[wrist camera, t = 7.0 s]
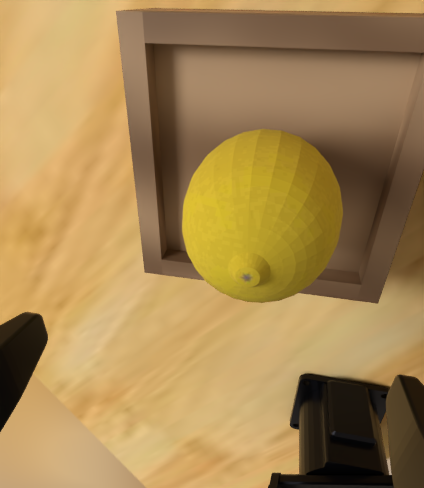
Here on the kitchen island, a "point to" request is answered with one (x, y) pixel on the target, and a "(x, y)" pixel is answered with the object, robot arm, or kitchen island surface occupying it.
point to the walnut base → (278, 119)
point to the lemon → (262, 216)
